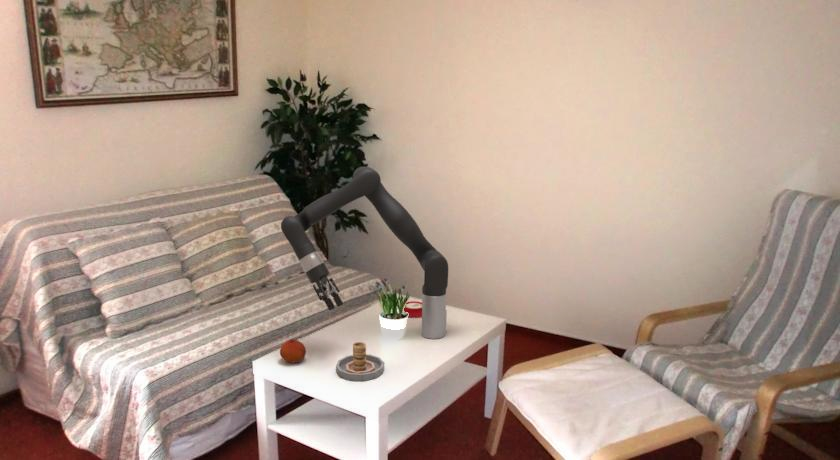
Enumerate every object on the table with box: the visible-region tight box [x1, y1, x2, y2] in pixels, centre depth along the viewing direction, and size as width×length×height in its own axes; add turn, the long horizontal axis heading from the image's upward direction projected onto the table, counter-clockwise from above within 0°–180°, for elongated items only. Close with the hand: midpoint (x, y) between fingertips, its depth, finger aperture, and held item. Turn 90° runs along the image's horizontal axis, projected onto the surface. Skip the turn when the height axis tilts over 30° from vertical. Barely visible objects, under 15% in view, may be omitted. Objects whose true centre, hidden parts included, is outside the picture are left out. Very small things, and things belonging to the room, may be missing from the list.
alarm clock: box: [404, 300, 422, 319], centre depth 278 cm, size 10×6×15 cm
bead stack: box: [352, 341, 367, 372], centre depth 224 cm, size 4×4×9 cm
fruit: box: [279, 338, 307, 364], centre depth 231 cm, size 9×9×8 cm
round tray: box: [335, 353, 385, 382], centre depth 225 cm, size 16×16×2 cm
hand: (336, 307), depth 230 cm, fingers open, 8 cm apart
